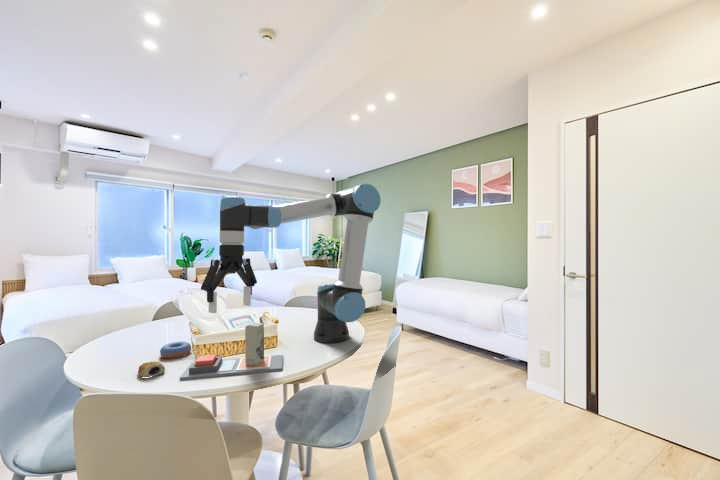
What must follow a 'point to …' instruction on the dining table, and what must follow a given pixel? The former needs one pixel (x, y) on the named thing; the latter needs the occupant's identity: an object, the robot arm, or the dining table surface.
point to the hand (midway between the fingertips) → (230, 308)
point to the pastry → (151, 369)
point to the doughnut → (175, 350)
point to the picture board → (232, 367)
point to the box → (254, 344)
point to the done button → (206, 360)
